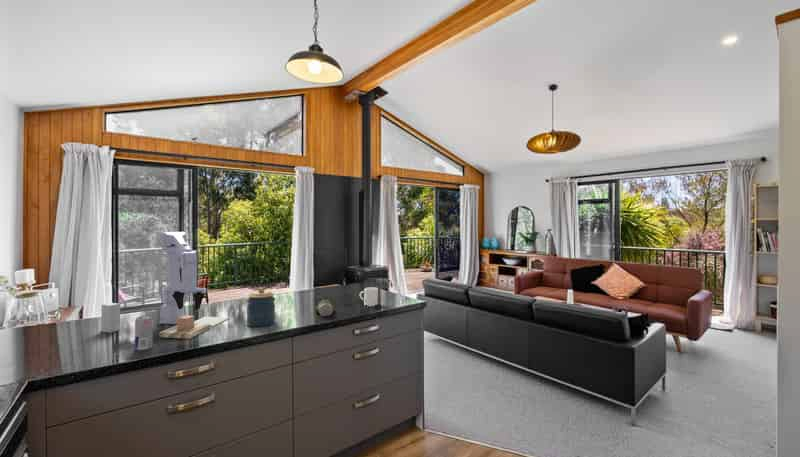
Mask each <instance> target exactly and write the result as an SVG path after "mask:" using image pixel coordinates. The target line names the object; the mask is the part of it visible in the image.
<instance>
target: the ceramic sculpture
mask: <svg viewBox="0 0 800 457" xmlns="http://www.w3.org/2000/svg"><path fill="white" fill-rule="evenodd" d="M334 308H335V306H334V305H332V303H331V302H330V301H329V299H327V298H323V299H322V300H321V301H319V303H318V305H317V306H314V308H313V309H314V311H315V312H318V314H319V315H320V316H322V317H329V316H331V315H332V313H333V311H334Z"/></svg>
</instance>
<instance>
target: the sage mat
mask: <svg viewBox="0 0 800 457" xmlns="http://www.w3.org/2000/svg"><path fill="white" fill-rule="evenodd" d="M229 319H230V317H226V316H225V317H223V316H222V317H221V316H203V317H201V318H199V319H197V320H194V323H197V324H211V327H216V326H217V325H219V324H221V323H224V322H225V321H228V320H229Z"/></svg>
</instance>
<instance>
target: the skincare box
mask: <svg viewBox="0 0 800 457" xmlns="http://www.w3.org/2000/svg"><path fill="white" fill-rule="evenodd" d="M100 308H101V309H100V310H101V316H100V317H101V332H104V333H115V332H118V331H121V303H118V302H117V303H116V302H107V303H103V304H101V307H100Z"/></svg>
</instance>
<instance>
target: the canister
mask: <svg viewBox="0 0 800 457" xmlns="http://www.w3.org/2000/svg"><path fill="white" fill-rule="evenodd" d="M248 297H249V298H248V299H246V302H247V306H246V325H247V327H250V328H262V327H269V326H272V325H274V324H275V322H276V304H275V301H276V297H275V296H274V292H272V291H270V290H265V288H264V287H259V288H258V289H257V290H255V291H252V292H251V293H249V294H248Z"/></svg>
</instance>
